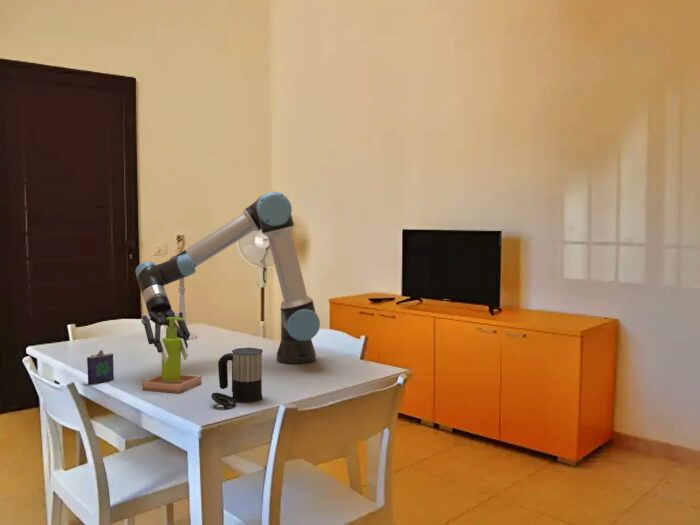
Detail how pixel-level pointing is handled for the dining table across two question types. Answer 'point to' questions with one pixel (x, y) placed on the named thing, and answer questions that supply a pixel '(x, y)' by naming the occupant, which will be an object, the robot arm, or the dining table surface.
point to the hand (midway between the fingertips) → (176, 358)
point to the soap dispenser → (172, 352)
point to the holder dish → (172, 384)
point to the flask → (100, 368)
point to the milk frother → (241, 376)
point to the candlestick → (182, 305)
